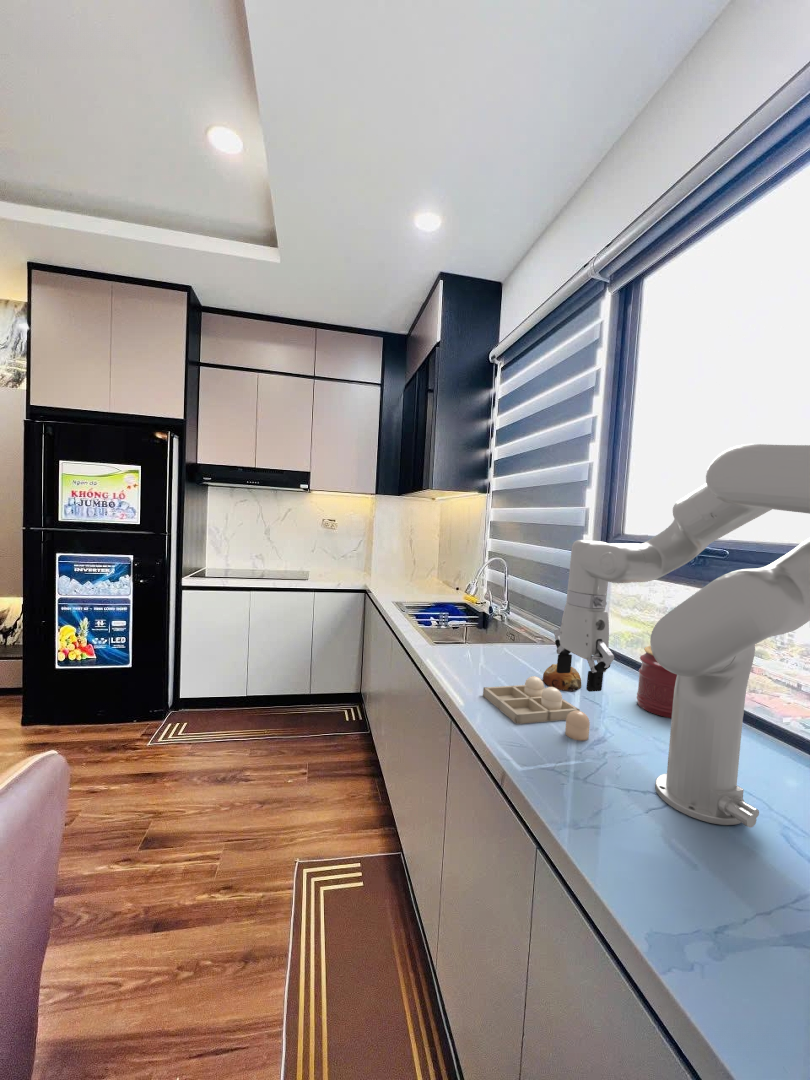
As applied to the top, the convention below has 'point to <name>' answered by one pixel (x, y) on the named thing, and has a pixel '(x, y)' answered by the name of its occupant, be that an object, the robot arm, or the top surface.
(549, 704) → the pale egg
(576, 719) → the brown egg
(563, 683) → the bread roll
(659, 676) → the canister
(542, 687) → the pale egg
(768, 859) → the top surface
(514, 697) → the egg tray
